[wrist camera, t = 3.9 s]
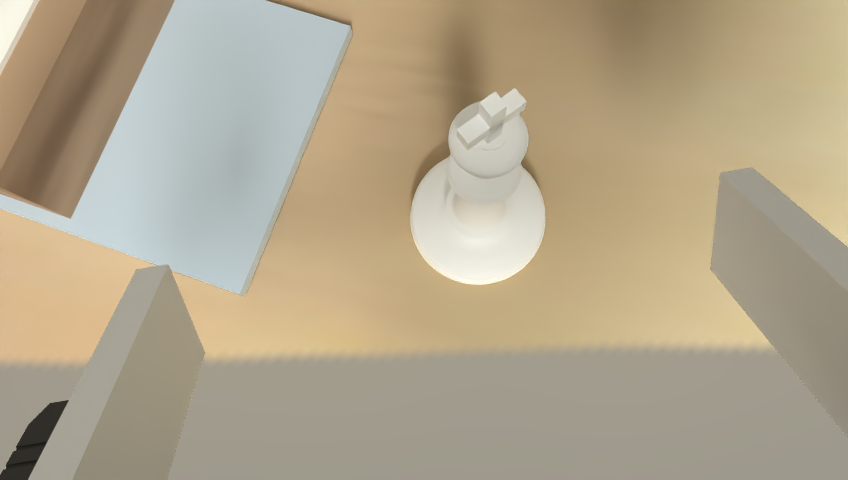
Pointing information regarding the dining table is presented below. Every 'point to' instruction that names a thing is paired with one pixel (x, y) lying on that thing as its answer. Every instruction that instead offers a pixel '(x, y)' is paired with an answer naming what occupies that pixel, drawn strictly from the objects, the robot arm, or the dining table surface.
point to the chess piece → (481, 197)
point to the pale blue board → (209, 139)
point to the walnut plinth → (66, 90)
